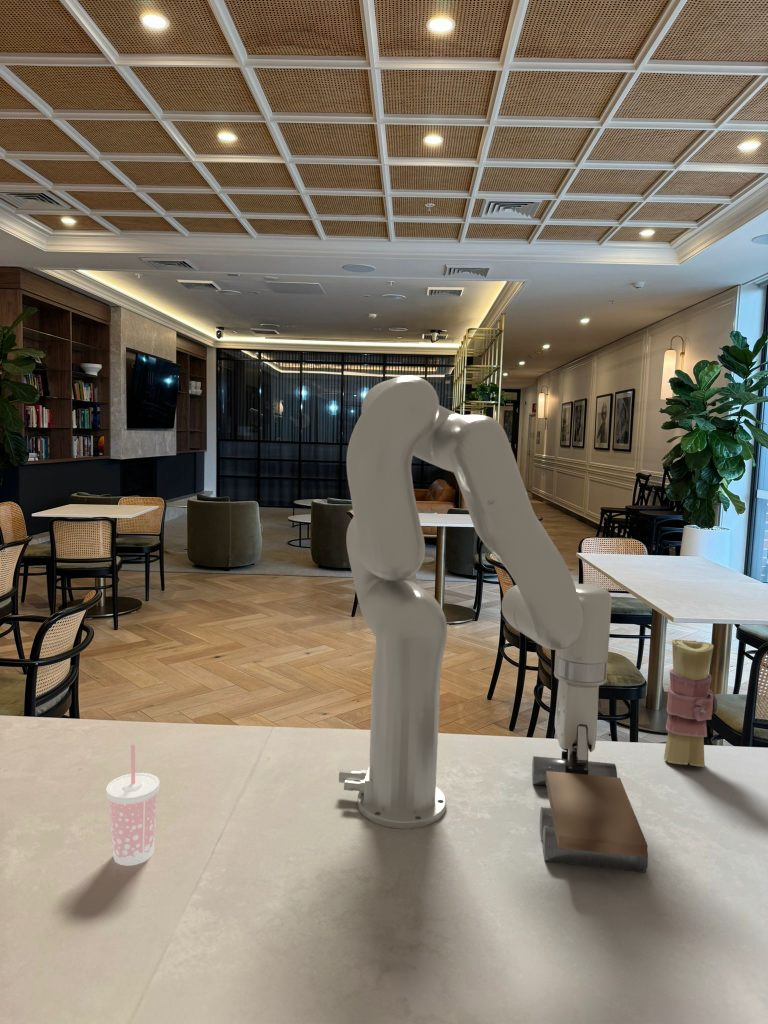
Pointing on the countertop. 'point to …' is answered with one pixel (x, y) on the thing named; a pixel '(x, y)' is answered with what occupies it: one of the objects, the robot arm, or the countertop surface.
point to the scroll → (689, 702)
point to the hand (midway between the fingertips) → (573, 783)
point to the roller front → (589, 855)
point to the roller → (559, 765)
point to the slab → (593, 814)
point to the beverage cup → (133, 815)
